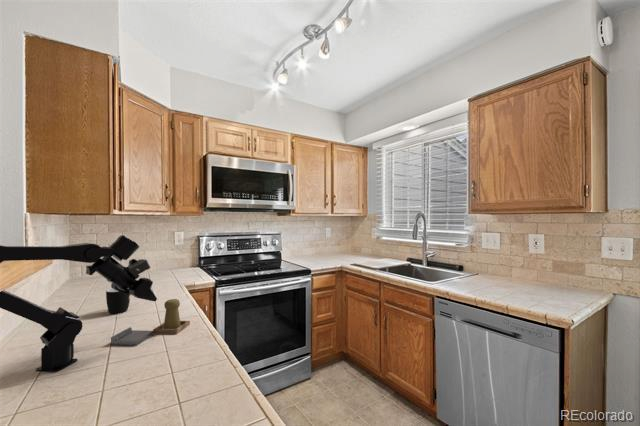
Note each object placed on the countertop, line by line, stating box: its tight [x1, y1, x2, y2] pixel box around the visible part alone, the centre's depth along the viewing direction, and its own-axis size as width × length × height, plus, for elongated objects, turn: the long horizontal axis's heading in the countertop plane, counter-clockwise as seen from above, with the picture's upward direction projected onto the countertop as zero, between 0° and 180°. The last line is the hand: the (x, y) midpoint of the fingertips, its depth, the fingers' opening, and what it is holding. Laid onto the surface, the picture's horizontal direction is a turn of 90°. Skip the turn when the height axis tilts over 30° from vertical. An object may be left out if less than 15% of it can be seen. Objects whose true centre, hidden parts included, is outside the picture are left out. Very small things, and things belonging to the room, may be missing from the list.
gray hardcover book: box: [110, 327, 154, 346], centre depth 99 cm, size 8×9×2 cm
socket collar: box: [152, 320, 191, 335], centre depth 108 cm, size 9×9×2 cm
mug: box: [105, 288, 131, 315], centre depth 130 cm, size 12×9×10 cm
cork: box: [163, 298, 181, 329], centre depth 108 cm, size 6×6×11 cm
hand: (149, 298), depth 102 cm, fingers open, 9 cm apart
